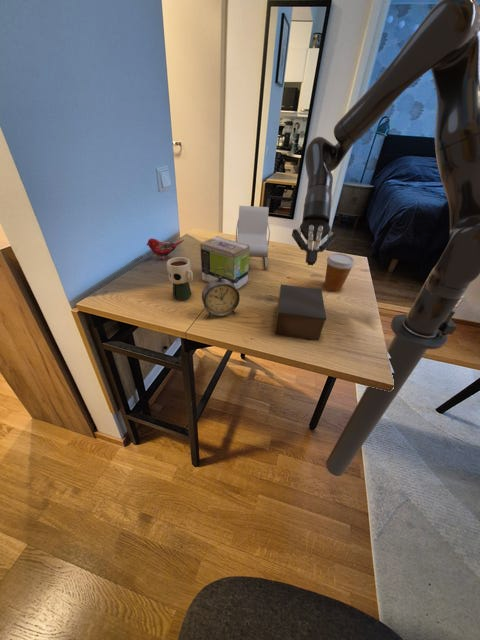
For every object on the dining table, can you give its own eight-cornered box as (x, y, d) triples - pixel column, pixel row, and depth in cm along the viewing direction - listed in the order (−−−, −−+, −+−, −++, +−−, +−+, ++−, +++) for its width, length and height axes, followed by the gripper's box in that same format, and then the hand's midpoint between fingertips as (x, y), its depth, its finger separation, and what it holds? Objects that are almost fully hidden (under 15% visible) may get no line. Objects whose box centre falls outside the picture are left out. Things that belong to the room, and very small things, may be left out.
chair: (264, 248, 126) (269, 205, 114) (266, 272, 107) (272, 223, 95) (237, 246, 126) (238, 204, 114) (234, 270, 107) (235, 221, 95)
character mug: (163, 295, 89) (157, 260, 81) (177, 287, 94) (173, 253, 86) (187, 306, 85) (183, 270, 77) (201, 297, 90) (199, 262, 82)
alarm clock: (204, 321, 79) (202, 273, 69) (201, 311, 83) (199, 264, 73) (239, 316, 82) (241, 269, 72) (234, 307, 86) (236, 261, 76)
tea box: (248, 282, 99) (251, 244, 90) (233, 293, 93) (234, 253, 84) (217, 270, 106) (217, 234, 97) (201, 280, 99) (199, 242, 90)
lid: (325, 321, 69) (326, 318, 68) (278, 314, 70) (278, 312, 70) (320, 291, 81) (321, 288, 81) (280, 286, 82) (280, 284, 82)
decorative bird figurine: (147, 262, 109) (143, 238, 103) (183, 252, 119) (181, 230, 113) (151, 264, 107) (146, 241, 101) (187, 254, 117) (185, 232, 111)
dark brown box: (318, 340, 74) (325, 319, 70) (274, 334, 76) (278, 312, 71) (315, 311, 86) (320, 291, 81) (277, 306, 87) (280, 286, 82)
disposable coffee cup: (323, 279, 104) (331, 250, 97) (348, 286, 100) (358, 257, 93) (316, 289, 97) (324, 259, 90) (342, 297, 94) (352, 266, 86)
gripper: (295, 197, 71) (288, 256, 69) (344, 201, 70) (338, 262, 68) (292, 212, 79) (285, 266, 77) (336, 216, 78) (331, 271, 75)
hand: (310, 264), depth 72 cm, fingers closed
